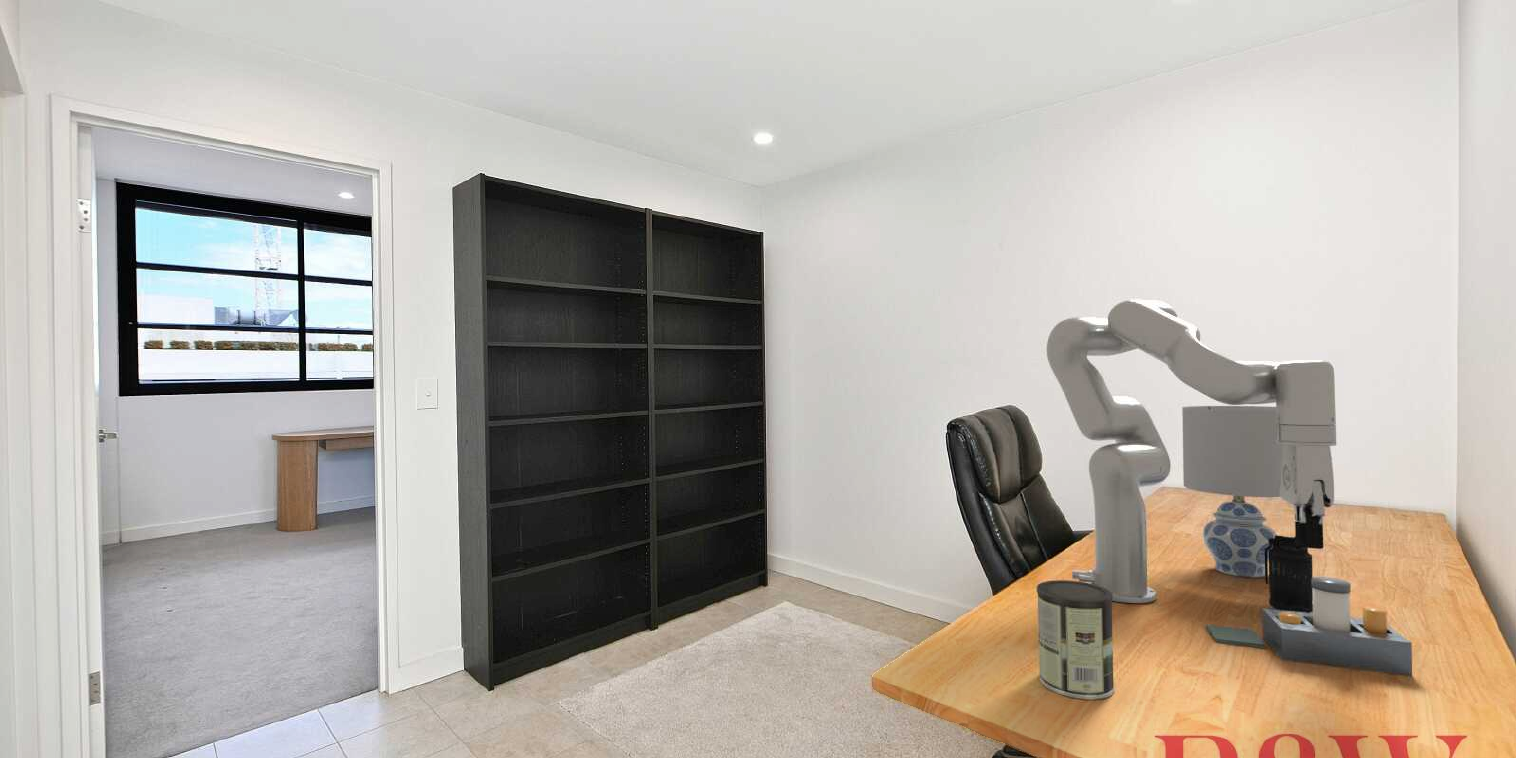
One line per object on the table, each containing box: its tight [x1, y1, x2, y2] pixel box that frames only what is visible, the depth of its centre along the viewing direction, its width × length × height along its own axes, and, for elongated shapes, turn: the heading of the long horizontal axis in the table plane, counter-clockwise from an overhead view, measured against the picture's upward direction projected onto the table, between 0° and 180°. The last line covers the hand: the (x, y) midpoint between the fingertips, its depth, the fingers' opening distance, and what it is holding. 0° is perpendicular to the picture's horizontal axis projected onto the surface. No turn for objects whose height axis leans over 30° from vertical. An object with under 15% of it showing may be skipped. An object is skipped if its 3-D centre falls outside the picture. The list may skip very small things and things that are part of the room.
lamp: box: [1181, 405, 1282, 578], centre depth 153 cm, size 22×22×38 cm
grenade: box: [1264, 534, 1314, 613], centre depth 126 cm, size 7×7×15 cm
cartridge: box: [1312, 576, 1352, 632], centre depth 108 cm, size 5×5×12 cm
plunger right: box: [1362, 606, 1388, 633], centre depth 105 cm, size 3×3×5 cm
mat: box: [1205, 624, 1266, 649], centre depth 115 cm, size 7×7×1 cm
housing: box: [1261, 607, 1413, 677], centre depth 108 cm, size 16×10×5 cm, turn 67°
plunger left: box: [1279, 612, 1301, 624], centre depth 110 cm, size 3×3×5 cm
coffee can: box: [1036, 579, 1115, 701], centre depth 99 cm, size 10×10×14 cm
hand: (1309, 546), depth 108 cm, fingers closed
